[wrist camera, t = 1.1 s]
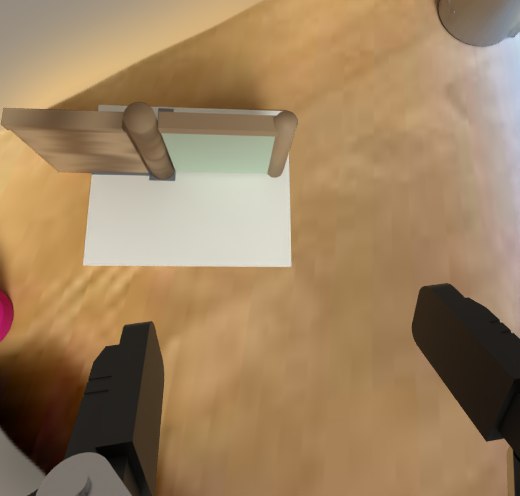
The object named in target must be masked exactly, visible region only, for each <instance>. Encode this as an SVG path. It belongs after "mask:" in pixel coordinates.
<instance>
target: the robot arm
mask: <svg viewBox="0 0 520 496" xmlns="http://www.w3.org/2000/svg"><path fill="white" fill-rule="evenodd" d="M439 15H440V19H441V21H442V23H443V25H444V26H445V28H446V29H447V30H448V31H449V32H450V33H451V34H452V35H453V36H454V37H456V38H457V39H459V40H460V41H462V42H465V43H467V44H470V45H474V46H490V45H494V44H496V43H499V42H500V41H501V40H503V39H504V38H506V37H515V36H516V35H517V34H518V33H519V32H520V0H440V1H439ZM412 333H413V337H414V340H415V342H416V344H417V346H418V347H419V348H420V350H421V351H422V353H423V354H424V355H425V357H426V358H427V360H428V361H429V362H430V364H431V365H432V367H433V368H434V369H435V371H436V372H437V373H438V375H439V376H440V378H441V379H442V380H443V382H444V383H445V385H446V386H447V387H448V389H449V390H450V392H451V393H452V394H453V396H454V397H455V399H456V400H457V401H458V403H459V404H460V406H461V407H462V408H463V410H464V411H465V412H466V414H467V415H468V417H469V418H470V419H471V421H472V422H473V424H474V425H475V426H476V428H477V429H478V431H479V432H480V433H481V435H482V436H483V438H484V439H485V440H486V442H487V441H492V440H498V439H503V438H504V439H505V440H506V441H507V443H508V444H509V445H510V446H509V448H508V451H507V483H508V496H520V339H519V338H518V337H517V336H516V335H515V334H514V333H511V330H510V329H509V328H508V327H507V326H505V325H504V324H503V323H500V320H499V319H498V318H497V317H496V316H495V315H494V314H493V313H492V312H490V311H489V310H488V309H487V308H486V307H484V306H483V305H481V304H479V303H477V302H475V301H474V300H472V299H470V298H465V297H464V296H463V295H462V294H461V293H459V292H458V291H457V290H456V289H455V288H454V287H453V286H452V285H451V284H448V283H445V284H438V285H430V286H424V287H422V288H421V289H420V291H419V295H418V299H417V304H416V309H415V313H414V318H413V322H412ZM163 389H164V366H163V359H162V355H161V351H160V347H159V343H158V339H157V335H156V330H155V326H154V323H153V322H152V321H150V322H143V323H135V324H128V325H125V326H124V327H123V331H122V335H121V339H120V344H119V345H112V346H106V347H105V348H104V350H103V351H102V352H101V353H100V355H99V356H98V357H97V358H96V360H95V361H94V362H93V366H92V369H91V372H90V376H89V382H87V385H86V389H85V392H84V397H83V399H82V402H81V405H80V409H79V412H78V415H77V419H76V422H75V425H74V428H73V432H72V435H71V438H70V442H69V445H68V448H67V452H66V454H65V457H64V459H63V461H62V462H61V463H60V464H58V465H57V466H56V467H55V468H54V469H53V470H52V471H51V472H50V473H49V474H48V475H47V476H46V477H45V479H44V480H43V482H42V483H41V485H40V487H39V489H37V490H36V491H34V492H33V493H31V494H30V495H28V496H155V484H156V473H157V461H158V449H159V437H160V425H161V413H162V401H163Z"/></svg>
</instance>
